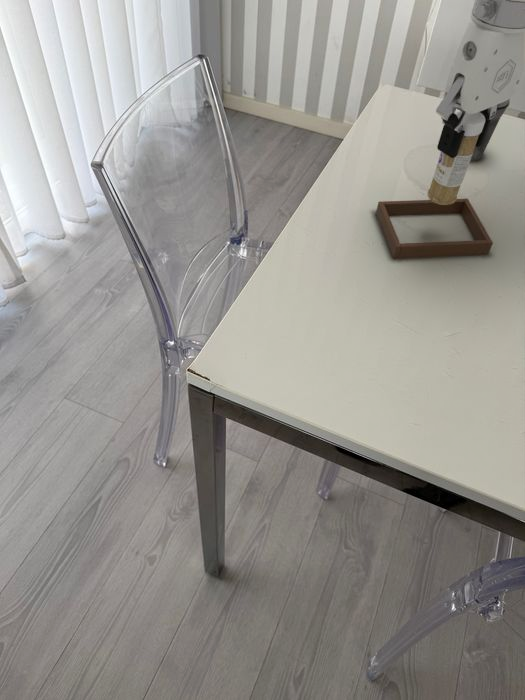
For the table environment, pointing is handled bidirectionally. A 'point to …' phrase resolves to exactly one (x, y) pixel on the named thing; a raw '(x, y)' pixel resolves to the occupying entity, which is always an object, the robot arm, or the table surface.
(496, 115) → the beverage cup
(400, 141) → the table surface
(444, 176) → the sprinkles bottle
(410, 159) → the table surface
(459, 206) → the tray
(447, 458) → the table surface
